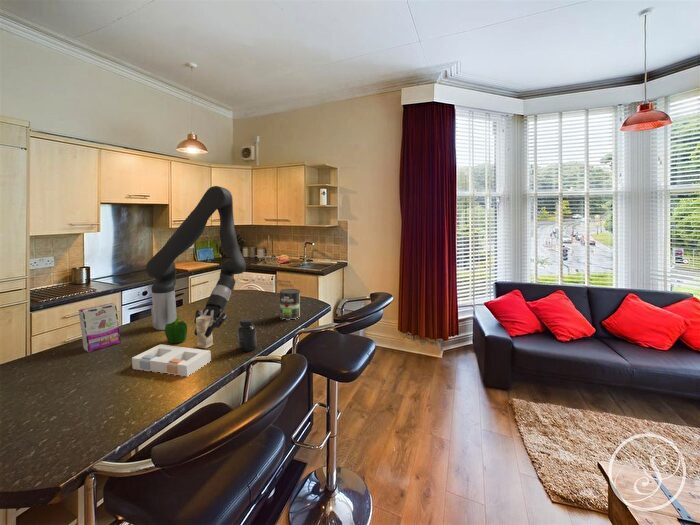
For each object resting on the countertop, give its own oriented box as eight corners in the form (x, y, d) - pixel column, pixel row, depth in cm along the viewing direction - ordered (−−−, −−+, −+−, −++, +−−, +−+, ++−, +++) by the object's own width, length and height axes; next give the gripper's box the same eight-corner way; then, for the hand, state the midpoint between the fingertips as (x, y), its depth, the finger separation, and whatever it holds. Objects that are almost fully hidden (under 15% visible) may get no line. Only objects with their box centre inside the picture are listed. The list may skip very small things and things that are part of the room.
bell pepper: (176, 346, 129) (175, 322, 127) (161, 343, 132) (159, 320, 130) (193, 339, 137) (191, 316, 135) (178, 336, 139) (177, 314, 138)
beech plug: (197, 347, 127) (195, 318, 125) (204, 343, 131) (202, 315, 129) (206, 348, 126) (204, 319, 124) (212, 344, 130) (211, 316, 128)
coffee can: (296, 321, 161) (296, 293, 159) (277, 319, 163) (276, 292, 161) (302, 314, 171) (302, 289, 169) (284, 313, 173) (284, 288, 171)
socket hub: (131, 369, 110) (130, 357, 109) (160, 354, 122) (159, 343, 121) (186, 377, 105) (185, 365, 104) (211, 361, 117) (210, 349, 116)
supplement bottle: (249, 344, 132) (248, 316, 131) (260, 348, 129) (259, 319, 127) (234, 349, 127) (233, 320, 125) (246, 354, 123) (244, 324, 121)
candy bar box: (115, 340, 134) (111, 302, 132) (121, 343, 132) (117, 304, 129) (82, 349, 125) (77, 309, 122) (88, 352, 122) (83, 311, 120)
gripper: (200, 292, 134) (180, 329, 125) (230, 294, 131) (212, 333, 121) (209, 301, 140) (190, 337, 131) (237, 303, 137) (221, 341, 127)
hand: (201, 335), depth 126 cm, fingers closed on beech plug, 4 cm apart
